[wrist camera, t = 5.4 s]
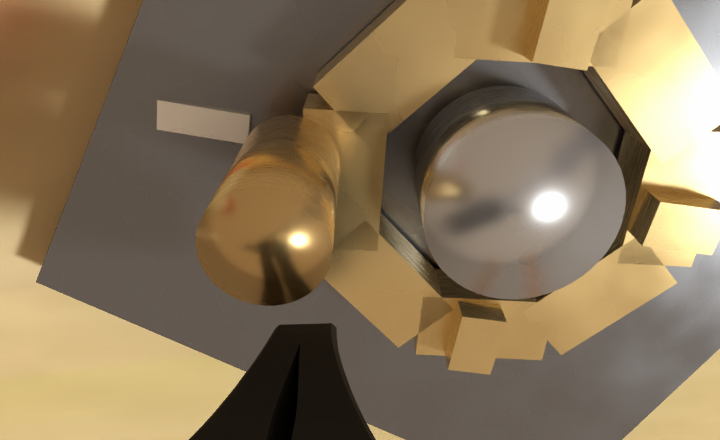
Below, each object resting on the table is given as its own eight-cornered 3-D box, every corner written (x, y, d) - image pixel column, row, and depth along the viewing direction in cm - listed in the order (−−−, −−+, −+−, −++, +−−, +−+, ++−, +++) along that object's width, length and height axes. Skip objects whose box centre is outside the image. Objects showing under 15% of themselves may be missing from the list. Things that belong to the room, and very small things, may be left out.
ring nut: (760, 185, 16) (959, 306, 11) (460, 378, 19) (499, 547, 14) (547, -155, 12) (686, -225, 7) (221, 151, 15) (150, 258, 10)
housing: (363, -536, 11) (365, -781, 7) (1018, 24, 15) (1226, 49, 11) (52, 265, 18) (-24, 344, 15) (546, 480, 23) (581, 582, 19)
